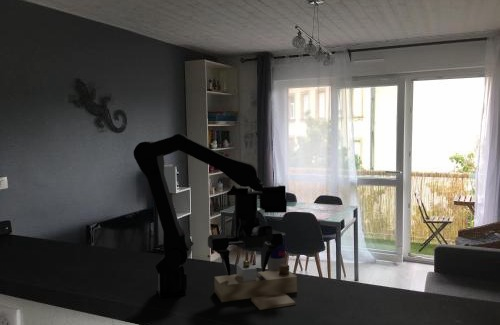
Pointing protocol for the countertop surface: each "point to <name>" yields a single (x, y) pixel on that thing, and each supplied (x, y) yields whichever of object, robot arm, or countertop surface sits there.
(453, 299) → the countertop surface
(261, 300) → the flat wooden board
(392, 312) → the countertop surface
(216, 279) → the plane body
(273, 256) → the energy drink
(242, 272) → the grey piece
